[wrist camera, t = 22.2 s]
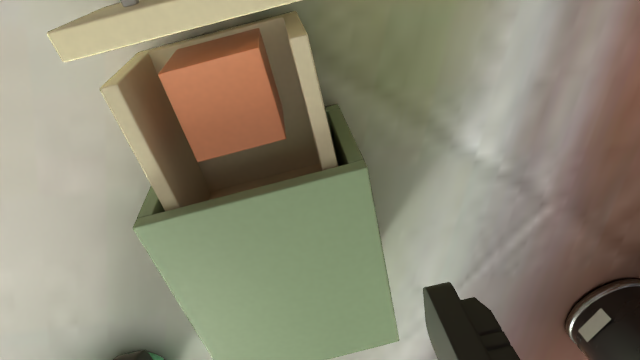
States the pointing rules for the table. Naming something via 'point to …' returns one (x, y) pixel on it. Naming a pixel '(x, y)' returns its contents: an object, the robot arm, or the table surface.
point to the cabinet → (280, 263)
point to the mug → (155, 356)
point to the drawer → (159, 116)
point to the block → (224, 95)
